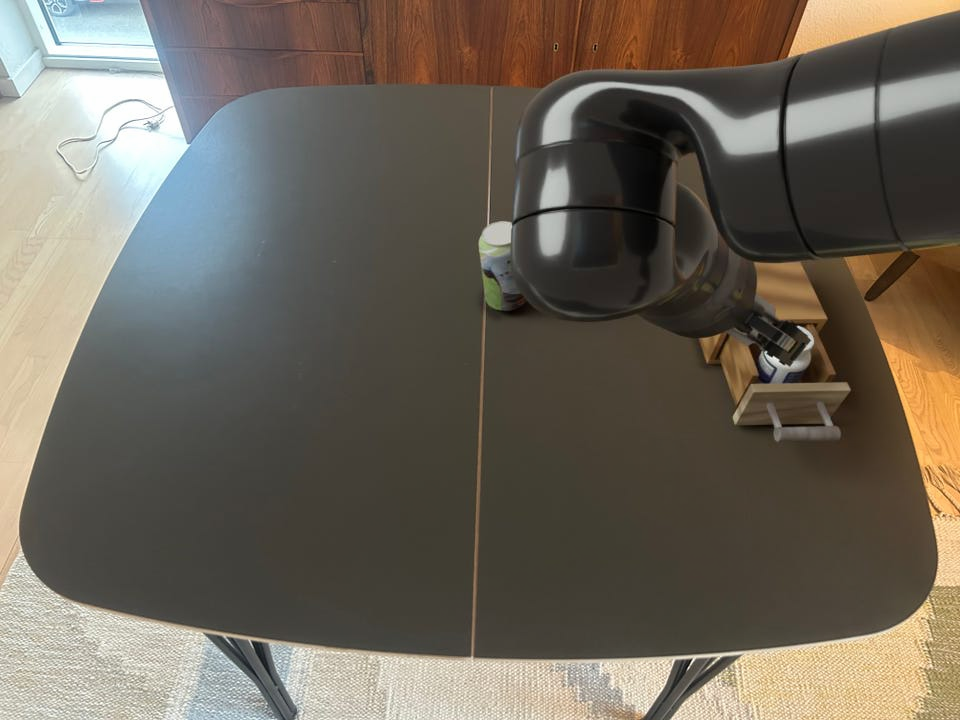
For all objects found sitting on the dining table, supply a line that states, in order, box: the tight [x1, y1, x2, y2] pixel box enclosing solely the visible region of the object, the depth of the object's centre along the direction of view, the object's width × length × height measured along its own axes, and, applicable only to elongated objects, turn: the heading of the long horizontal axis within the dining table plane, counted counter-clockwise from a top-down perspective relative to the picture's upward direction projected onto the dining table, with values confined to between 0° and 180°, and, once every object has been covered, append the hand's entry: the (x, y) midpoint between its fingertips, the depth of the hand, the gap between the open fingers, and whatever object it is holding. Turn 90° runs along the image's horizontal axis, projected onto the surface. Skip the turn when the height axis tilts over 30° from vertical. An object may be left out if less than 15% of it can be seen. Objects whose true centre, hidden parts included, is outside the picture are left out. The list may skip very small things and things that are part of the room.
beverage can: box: [478, 220, 528, 312], centre depth 94 cm, size 6×7×12 cm
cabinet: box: [698, 262, 828, 365], centre depth 95 cm, size 16×13×9 cm
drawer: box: [718, 323, 852, 443], centre depth 86 cm, size 20×11×7 cm, turn 3°
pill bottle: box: [755, 326, 814, 384], centre depth 85 cm, size 5×5×9 cm
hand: (731, 309), depth 59 cm, fingers open, 8 cm apart
